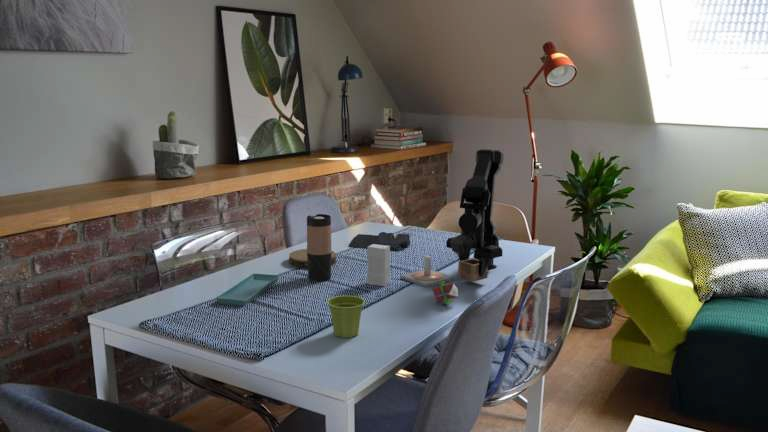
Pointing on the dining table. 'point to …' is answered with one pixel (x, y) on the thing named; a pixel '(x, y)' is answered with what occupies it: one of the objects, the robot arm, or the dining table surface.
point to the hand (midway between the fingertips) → (472, 274)
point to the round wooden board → (304, 258)
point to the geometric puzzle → (445, 292)
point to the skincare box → (378, 264)
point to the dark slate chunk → (381, 241)
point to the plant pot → (346, 315)
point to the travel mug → (319, 247)
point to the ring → (470, 270)
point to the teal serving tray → (247, 289)
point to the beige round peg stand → (427, 275)
